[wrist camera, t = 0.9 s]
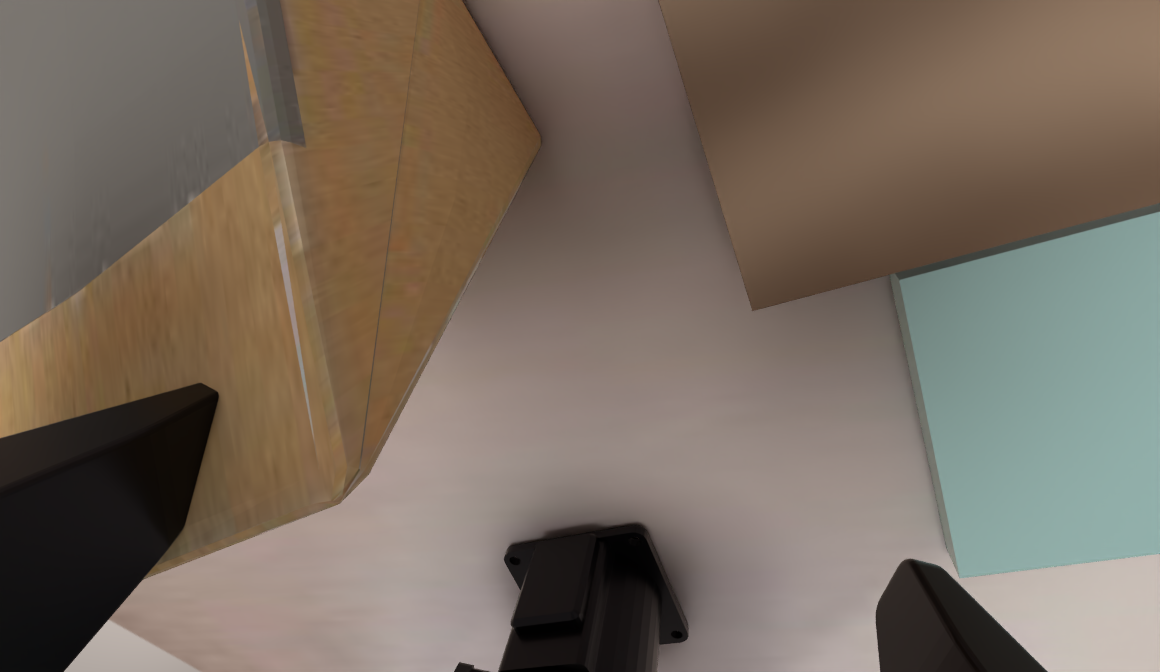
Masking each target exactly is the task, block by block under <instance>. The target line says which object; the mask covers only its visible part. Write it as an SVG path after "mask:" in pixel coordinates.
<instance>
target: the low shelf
mask: <svg viewBox="0 0 1160 672" xmlns="http://www.w3.org/2000/svg"><path fill="white" fill-rule="evenodd" d="M658 1H659V4H660V7H661V11H662V14H663V17H664V20H665V24H666V27H667V30H668V34H669V37H670V40H671V44H672V47H673V50H674V53H675V57H676V60H677V63H678V67H679V70H680V73H681V77H682V80H683V83H684V87H685V90H686V93H687V96H688V100H689V103H690V106H691V110H692V113H693V116H694V120H695V123H696V126H697V129H698V133H699V136H700V139H701V143H702V146H703V149H704V153H705V156H706V159H707V163H708V166H709V169H710V172H711V176H712V179H713V182H714V186H715V189H716V192H717V196H718V199H719V202H720V205H721V209H722V212H723V215H724V219H725V222H726V225H727V229H728V232H729V235H730V238H731V242H732V245H733V248H734V252H735V255H736V258H737V262H738V265H739V268H740V272H741V275H742V278H743V281H744V285H745V288H746V291H747V295H748V298H749V301H750V305H751V308H752V311H754V310H758V309H762V308H766V307H769V306H773V305H777V304H781V303H784V302H788V301H792V300H796V299H800V298H803V297H807V296H811V295H815V294H818V293H822V292H826V291H830V290H833V289H837V288H841V287H845V286H849V285H852V284H856V283H860V282H864V281H867V280H871V279H875V278H879V277H883V276H886V275H890V274H894V273H898V272H901V271H905V270H909V269H913V268H917V267H920V266H924V265H928V264H932V263H935V262H939V261H943V260H947V259H951V258H954V257H958V256H962V255H966V254H969V253H973V252H977V251H981V250H985V249H988V248H992V247H996V246H1000V245H1003V244H1007V243H1011V242H1015V241H1019V240H1022V239H1026V238H1030V237H1034V236H1037V235H1041V234H1045V233H1049V232H1053V231H1056V230H1060V229H1064V228H1068V227H1071V226H1075V225H1079V224H1083V223H1087V222H1090V221H1094V220H1098V219H1102V218H1105V217H1109V216H1113V215H1117V214H1121V213H1124V212H1128V211H1132V210H1136V209H1139V208H1143V207H1147V206H1151V205H1155V204H1158V203H1160V0H658Z"/></svg>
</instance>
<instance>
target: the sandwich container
mask: <svg viewBox="0 0 1160 672" xmlns="http://www.w3.org/2000/svg"><path fill="white" fill-rule="evenodd" d="M540 147H541V136H540V134H539V132H538V131H537V129H536V127H535V125H534V124H533V122H532V120H531V119H530V117H529V115H528V113H527V112H526V110H525V108H524V107H523V105H522V103H521V101H520V100H519V98H518V96H517V94H516V93H515V91H514V89H513V88H512V86H511V84H510V82H509V81H508V79H507V77H506V76H505V74H504V72H503V70H502V69H501V67H500V65H499V64H498V62H497V60H496V58H495V57H494V55H493V53H492V51H491V50H490V48H489V46H488V45H487V43H486V41H485V39H484V38H483V36H482V34H481V33H480V31H479V29H478V27H477V26H476V24H475V22H474V21H473V19H472V17H471V15H470V14H469V12H468V10H467V8H466V7H465V5H464V3H463V2H462V0H0V438H2V437H5V436H9V435H13V434H16V433H20V432H24V431H27V430H31V429H34V428H38V427H42V426H45V425H49V424H52V423H56V422H60V421H63V420H67V419H70V418H74V417H78V416H81V415H85V414H88V413H92V412H96V411H99V410H103V409H106V408H110V407H114V406H117V405H121V404H124V403H128V402H132V401H135V400H139V399H142V398H146V397H150V396H153V395H157V394H160V393H164V392H168V391H171V390H175V389H178V388H182V387H186V386H189V385H193V384H196V383H203V384H205V385H207V386H208V387H210V388H212V389H214V390H216V391H217V392H218V394H219V399H218V403H217V407H216V410H215V414H214V418H213V422H212V425H211V429H210V433H209V437H208V440H207V444H206V448H205V452H204V455H203V459H202V463H201V467H200V470H199V474H198V478H197V482H196V485H195V489H194V493H193V497H192V500H191V504H190V508H189V512H188V515H187V519H186V523H185V526H184V529H183V530H182V532H181V533H180V534H179V536H178V537H177V538H176V540H175V541H174V542H173V544H172V545H171V546H170V548H169V549H168V550H167V551H166V553H165V554H164V555H163V556H162V557H161V559H160V560H159V561H158V562H157V563H156V565H155V566H154V567H153V568H152V569H151V570H150V572H149V573H148V574H147V575H146V576H145V577H144V579H146V578H148V577H151V576H153V575H156V574H158V573H161V572H164V571H166V570H169V569H171V568H174V567H177V566H179V565H182V564H184V563H187V562H190V561H192V560H195V559H197V558H200V557H203V556H205V555H208V554H210V553H213V552H216V551H218V550H221V549H223V548H226V547H229V546H231V545H234V544H236V543H239V542H242V541H244V540H247V539H249V538H252V537H255V536H257V535H260V534H262V533H265V532H268V531H270V530H273V529H275V528H278V527H281V526H283V525H286V524H288V523H291V522H294V521H296V520H299V519H301V518H304V517H307V516H309V515H312V514H314V513H317V512H320V511H322V510H325V509H327V508H330V507H333V506H335V505H338V504H340V503H341V502H342V501H343V500H344V499H345V498H346V497H347V496H348V495H349V494H350V493H351V492H352V491H353V490H354V489H355V488H356V487H357V486H358V485H359V484H360V483H361V482H362V481H363V480H364V479H365V478H366V477H367V476H368V475H369V473H370V471H371V469H372V467H373V465H374V464H375V462H376V460H377V458H378V456H379V454H380V452H381V450H382V448H383V446H384V445H385V443H386V441H387V439H388V437H389V435H390V433H391V431H392V429H393V427H394V425H395V424H396V422H397V420H398V418H399V416H400V414H401V412H402V410H403V408H404V406H405V405H406V403H407V401H408V399H409V397H410V395H411V393H412V391H413V389H414V387H415V386H416V384H417V382H418V380H419V378H420V376H421V374H422V372H423V370H424V368H425V366H426V365H427V363H428V361H429V359H430V357H431V355H432V353H433V351H434V349H435V347H436V346H437V344H438V342H439V340H440V338H441V336H442V334H443V332H444V330H445V328H446V326H447V325H448V323H449V321H450V319H451V317H452V315H453V313H454V311H455V309H456V307H457V306H458V304H459V302H460V300H461V298H462V296H463V294H464V292H465V290H466V288H467V286H468V285H469V283H470V281H471V279H472V277H473V275H474V273H475V271H476V269H477V267H478V266H479V264H480V262H481V260H482V258H483V256H484V254H485V252H486V250H487V248H488V246H489V245H490V243H491V241H492V239H493V237H494V235H495V233H496V231H497V229H498V227H499V225H500V223H501V222H502V220H503V218H504V216H505V214H506V212H507V210H508V208H509V206H510V204H511V202H512V201H513V199H514V197H515V195H516V193H517V191H518V189H519V187H520V185H521V183H522V181H523V179H524V177H525V176H526V174H527V172H528V170H529V168H530V166H531V164H532V162H533V160H534V158H535V156H536V154H537V152H538V150H539V148H540Z"/></svg>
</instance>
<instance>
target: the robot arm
mask: <svg viewBox="0 0 1160 672" xmlns="http://www.w3.org/2000/svg"><path fill="white" fill-rule="evenodd" d="M218 399H219V394H218V392H217V391H216V390H214V389H212V388H210V387H208V386H207V385H205V384H203V383H196V384H193V385H189V386H186V387H182V388H178V389H175V390H171V391H168V392H164V393H160V394H157V395H153V396H150V397H146V398H142V399H139V400H135V401H132V402H128V403H124V404H121V405H117V406H114V407H110V408H106V409H103V410H99V411H96V412H92V413H88V414H85V415H81V416H78V417H74V418H70V419H67V420H63V421H60V422H56V423H52V424H49V425H45V426H42V427H38V428H34V429H31V430H27V431H24V432H20V433H16V434H13V435H9V436H5V437H2V438H0V672H64V671H65V669H66V668H67V667H68V666H69V665H70V664H71V663H72V661H73V660H74V659H75V658H76V657H77V656H78V654H79V653H80V652H81V651H82V650H83V649H84V647H85V646H86V645H87V644H88V643H89V641H90V640H91V639H92V638H93V637H94V636H95V635H96V633H97V632H98V631H99V630H100V629H101V628H102V626H103V625H104V624H105V623H106V622H107V621H108V619H109V618H110V617H111V616H112V615H113V614H114V612H115V611H116V610H117V609H118V608H119V607H120V605H121V604H122V603H123V602H124V601H125V600H126V598H127V597H128V596H129V595H130V594H131V593H132V591H133V590H134V589H135V588H136V587H137V586H138V584H139V583H140V582H141V581H142V580H143V579H144V577H145V576H146V575H147V574H148V573H149V572H150V570H151V569H152V568H153V567H154V566H155V565H156V563H157V562H158V561H159V560H160V559H161V557H162V556H163V555H164V554H165V553H166V551H167V550H168V549H169V548H170V546H171V545H172V544H173V542H174V541H175V540H176V538H177V537H178V536H179V534H180V533H181V532H182V530H183V529H184V526H185V523H186V519H187V515H188V512H189V508H190V504H191V500H192V497H193V493H194V489H195V485H196V482H197V478H198V474H199V470H200V467H201V463H202V459H203V455H204V452H205V448H206V444H207V440H208V437H209V433H210V429H211V425H212V422H213V418H214V414H215V410H216V407H217V403H218ZM632 537H637V538H639V539H633V538H632ZM516 557H517V558H516ZM504 561H505V564H506V565H507V567H508V569H509V571H510V572H511V574H512V576H513V578H514V580H515V581H516V583H517V585H518V587H519V589H520V590H521V591H520V594H519V597H518V600H517V604H516V607H515V610H514V613H513V616H512V619H511V626H512V629H511V633H510V636H509V639H508V642H507V645H506V648H505V651H504V655H503V658H502V661H501V664H500V667H499V670H498V672H657V667H658V654H659V645H661V644H670V643H680V642H684V641H685V640H687V638H688V624H687V622H686V620H685V618H684V615H683V613H682V611H681V608H680V606H679V604H678V602H677V599H676V597H675V595H674V592H673V590H672V588H671V585H670V583H669V581H668V579H667V576H666V574H665V572H664V569H663V567H662V565H661V563H660V560H659V558H658V556H657V553H656V551H655V549H654V546H653V544H652V542H651V540H650V537H649V535H648V533H647V531H646V530H645V529H644V528H642V527H640V526H637V525H632V526H626V527H620V528H614V529H608V530H602V531H596V532H590V533H584V534H578V535H573V536H567V537H561V538H555V539H549V540H543V541H537V542H531V543H525V544H519V545H513V546H510V547H509V548H508V549H507V551H506V554H505V557H504ZM876 629H877V640H878V651H879V662H880V672H1047V671H1046V670H1045V669H1044V668H1043V667H1042V666H1041V665H1040V664H1039V663H1038V662H1037V661H1036V660H1035V659H1034V658H1033V657H1032V656H1031V655H1030V654H1029V653H1028V652H1027V651H1026V650H1025V649H1024V648H1023V647H1022V646H1021V645H1020V644H1019V643H1018V642H1017V641H1016V640H1015V639H1014V638H1013V637H1012V636H1011V635H1010V634H1009V633H1008V632H1007V631H1006V630H1005V629H1004V628H1003V627H1002V626H1001V625H1000V624H999V623H998V622H997V621H996V620H995V619H994V618H993V617H992V616H991V615H990V614H989V613H988V612H987V611H986V610H985V609H984V608H983V607H982V606H981V605H980V604H979V603H978V602H977V601H976V600H975V599H974V598H973V597H972V596H971V595H970V594H969V593H967V592H966V591H965V590H964V589H963V588H962V587H961V586H960V585H959V584H958V583H957V582H956V581H955V580H954V579H953V578H952V577H951V576H950V575H949V574H948V573H947V572H946V571H945V570H944V569H943V568H941V567H940V566H938V565H935V564H931V563H927V562H923V561H919V560H915V559H906V560H904V561H902V562H901V563H900V565H899V566H898V568H897V569H896V571H895V573H894V575H893V577H892V578H891V580H890V582H889V584H888V586H887V587H886V589H885V591H884V593H883V594H882V596H881V598H880V600H879V602H878V605H877V610H876ZM454 672H489V671H484V670H480V669H475V668H474V665H470V664H465V663H461V662H459V664H458V665H457V667H456V669H455V671H454Z"/></svg>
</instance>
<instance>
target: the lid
mask: <svg viewBox="0 0 1160 672" xmlns="http://www.w3.org/2000/svg"><path fill="white" fill-rule="evenodd" d="M889 276H890V281H891V285H892V290H893V295H894V300H895V304H896V309H897V314H898V319H899V324H900V328H901V333H902V338H903V343H904V347H905V352H906V357H907V362H908V367H909V371H910V376H911V381H912V386H913V391H914V395H915V400H916V405H917V410H918V414H919V419H920V424H921V429H922V434H923V438H924V443H925V448H926V453H927V457H928V462H929V467H930V472H931V477H932V481H933V486H934V491H935V496H936V501H937V505H938V510H939V515H940V520H941V524H942V529H943V534H944V539H945V544H946V548H947V550H948V553H949V555H950V557H951V559H952V562H953V564H954V566H955V568H956V571H957V573H958V575H959V578H966V577H974V576H983V575H991V574H999V573H1007V572H1015V571H1023V570H1031V569H1040V568H1048V567H1056V566H1064V565H1072V564H1080V563H1089V562H1097V561H1105V560H1113V559H1121V558H1129V557H1138V556H1146V555H1154V554H1160V203H1158V204H1155V205H1151V206H1147V207H1143V208H1139V209H1136V210H1132V211H1128V212H1124V213H1121V214H1117V215H1113V216H1109V217H1105V218H1102V219H1098V220H1094V221H1090V222H1087V223H1083V224H1079V225H1075V226H1071V227H1068V228H1064V229H1060V230H1056V231H1053V232H1049V233H1045V234H1041V235H1037V236H1034V237H1030V238H1026V239H1022V240H1019V241H1015V242H1011V243H1007V244H1003V245H1000V246H996V247H992V248H988V249H985V250H981V251H977V252H973V253H969V254H966V255H962V256H958V257H954V258H951V259H947V260H943V261H939V262H935V263H932V264H928V265H924V266H920V267H917V268H913V269H909V270H905V271H901V272H898V273H894V274H890V275H889Z"/></svg>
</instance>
